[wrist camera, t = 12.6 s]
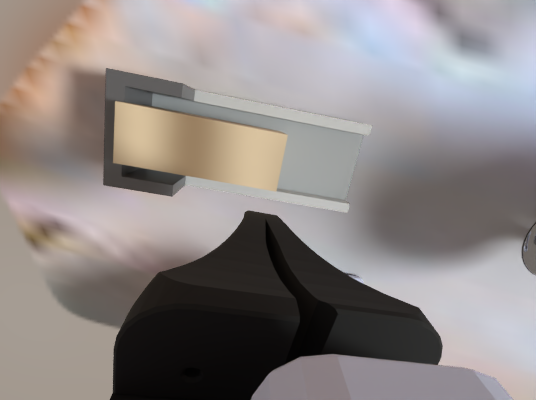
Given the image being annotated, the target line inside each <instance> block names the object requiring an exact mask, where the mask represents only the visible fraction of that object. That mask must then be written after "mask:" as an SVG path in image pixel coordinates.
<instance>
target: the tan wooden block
mask: <svg viewBox="0 0 536 400" xmlns="http://www.w3.org/2000/svg"><path fill="white" fill-rule="evenodd" d="M287 137H288V135H287V134H285V133H283V132H281V131H276V130H271V129H266V128H261V127H256V126H251V125H246V124H241V123H236V122H230V121H225V120H220V119H215V118H210V117H205V116H200V115H195V114H190V113H185V112H179V111H174V110H169V109H164V108H159V107H154V106H148V105H140V104H133V103H126V102H118V101H115V121H114V150H113V163H117V164H122V165H128V166H134V167H139V168H145V169H151V170H156V171H162V172H168V173H173V174H179V175H185V176H190V177H196V178H202V179H207V180H213V181H219V182H224V183H230V184H236V185H241V186H247V187H253V188H258V189H264V190H270V191H275V192H276V191H277V186H278V181H279V176H280V171H281V166H282V161H283V156H284V152H285V147H286V142H287Z"/></svg>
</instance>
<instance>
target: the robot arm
mask: <svg viewBox="0 0 536 400" xmlns="http://www.w3.org/2000/svg"><path fill="white" fill-rule="evenodd" d="M442 347H443V346H442V342H441V338H440V336H439V334H438V333H437V332H436V330H435V329H434V327H433V326H432V325H431V323H430V322H429V321H428V319H427V318H426V317H425V315H424V314H423V313H422V311H421V310H420V309H419V308H418V307H416V306H413V305H411V304H408V303H406V302H403V301H401V300H398V299H396V298H393V297H391V296H388V295H386V294H383V293H381V292H379V291H377V290H375V289H373V288H371V287H369V286H367V285H365V284H363V280H362V278H360V277H358V276H352V275H347V274H345V273H343V272H342V271H340V270H338V269H337V268H335V267H334V266H332V265H331V264H330V263H328V262H327V261H325V260H324V259H323V258H321V257H320V256H319V255H317V254H316V253H315V252H314V251H313V250H311V249H310V248H309V247H308V246H307V245H306V244H305V243H304V242H302V241H301V240H300V239H299V238H298V237H297V236H296V235H295V234H294V233H293V232H292V231H291V230H290V228H289V227H288V226H287V225H286V224H285V223H284V222H283V221H282V220H281V219H280V218H279V217H278V216H276V215H271V214H265V213H259V212H254V211H246V212H245V214H244V218H243V220H242V222H241V223H240V225H239V226H238V227H237V229H236V230H235V231H234V232H233V233H232V235H231V236H230V237H229V238H228V239H227V240H226V241H225V242H223V243H222V244H221V245H220V246H219V247H217V248H216V249H215V250H213V251H212V252H210V253H209V254H207V255H205V256H204V257H202V258H200V259H198V260H196V261H193V262H191V263H188V264H186V265H183V266H180V267H176V268H173V269H170V270H166V271H163V272H159V273H158V274H157V275H156V276H155V277H154V278H153V280H152V281H151V282H150V283H149V285H148V286H147V287H146V288H145V290H144V291H143V292H142V294H141V295H140V296H139V298H138V299H137V301H136V302H135V304H134V305H133V307H132V308H131V310H130V312H129V313H128V315H127V317H126V319H125V321H124V323H123V325H122V327H121V329H120V331H119V333H118V335H117V337H116V341H115V346H114V363H113V394H112V396H111V398H110V400H513V398H512V397H511V396H510V395H509V394H508V393H507V391H506V390H505V389H504V388H503V387H502V385H501V384H500V383H499V382H498V381H497V379H496V378H494V377H491V376H488V375H485V374H483V373H480V372H477V371H475V370H472V369H468V368H462V367H453V366H443V365H438V363H439V361H440V359H441V354H442Z"/></svg>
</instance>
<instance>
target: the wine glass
mask: <svg viewBox="0 0 536 400" xmlns="http://www.w3.org/2000/svg"><path fill="white" fill-rule="evenodd" d="M523 260H524V263H525V265H526V267H527V268H528V270H529V271H530V272H531V273H533V274H534V275H536V223H535V225H534V226H533V227H532V228H531V230H530V231H529V233H528V235H527V237H526V239H525V242H524V245H523Z"/></svg>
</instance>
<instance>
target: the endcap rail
mask: <svg viewBox="0 0 536 400" xmlns="http://www.w3.org/2000/svg"><path fill="white" fill-rule="evenodd" d="M115 101H118V102H126V103H133V104H140V105H148V106H154V107H159V108H164V109H169V110H174V111H179V112H185V113H190V114H195V115H200V116H205V117H210V118H215V119H220V120H225V121H230V122H236V123H241V124H246V125H251V126H256V127H261V128H266V129H271V130H276V131H281V132H283V133H285V134H287V135H288V137H287V142H286V147H285V152H284V156H283V161H282V166H281V171H280V176H279V181H278V186H277V191H276V192H275V191H270V190H264V189H258V188H253V187H247V186H241V185H236V184H230V183H224V182H219V181H213V180H207V179H202V178H196V177H190V176H185V175H179V174H173V173H168V172H162V171H156V170H151V169H145V168H139V167H134V166H128V165H122V164H117V163H113V150H114V121H115ZM371 128H372V125H368V124H363V123H358V122H353V121H348V120H343V119H338V118H333V117H328V116H323V115H318V114H313V113H308V112H303V111H298V110H293V109H289V108H284V107H279V106H274V105H269V104H264V103H259V102H254V101H249V100H244V99H239V98H234V97H229V96H224V95H219V94H214V93H209V92H204V91H199V90H195V89H193V88H191V87H189V86H187V85H185V84H182V83H177V82H172V81H168V80H163V79H158V78H153V77H148V76H143V75H138V74H133V73H128V72H123V71H118V70H113V69H108V68H106V90H105V135H104V179H103V185H106V186H112V187H118V188H124V189H130V190H136V191H142V192H148V193H154V194H160V195H166V196H173V195H174V194H176V193H177V192H178V191H179V190H180V189H181V188H182V187H183V186H185V185H187V186H193V187H199V188H205V189H211V190H216V191H222V192H228V193H234V194H240V195H246V196H251V197H257V198H263V199H269V200H275V201H281V202H287V203H292V204H298V205H304V206H310V207H316V208H322V209H327V210H333V211H339V212H345V213H348V209H349V206H350V204H349V203H348V202H347V201H346V197H347V194H348V190H349V187H350V183H351V179H352V176H353V172H354V169H355V165H356V161H357V158H358V154H359V151H360V147H361V143H362V140H363V136H364V135H368V136H369V135H370V131H371Z"/></svg>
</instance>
